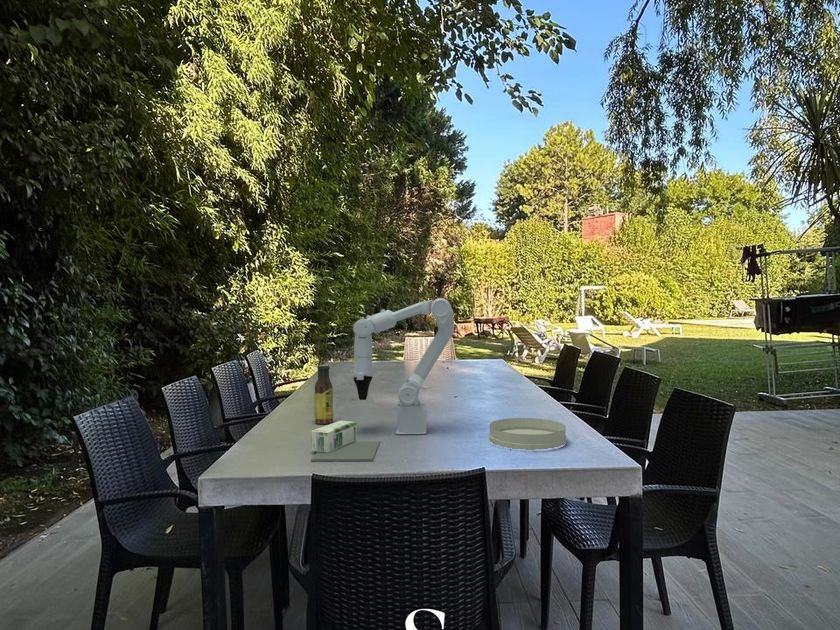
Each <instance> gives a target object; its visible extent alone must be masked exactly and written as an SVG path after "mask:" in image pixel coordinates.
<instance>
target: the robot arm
mask: <svg viewBox="0 0 840 630" xmlns="http://www.w3.org/2000/svg"><path fill="white" fill-rule="evenodd" d="M430 312H431V315H432V316H433V317H434V319H435V321H436V324H437V328H438V330H437V333H436V334H435V335H434V337H433V339H432V340H431V342H430V344H429V345H428V346H427V348H426V350H425V352H424V353H423V355H422V357H421V358H420V360H419V362H418V363H417V364H416V367H414V370H413V371H412V373H411V374H410V376H409V378H408V379H407V380H405V381H404V382H402V384H400V387H399V389H398V392H397V398H398V400H399V401H397V428H396V431H395V434H396V435H427V431H428V428H429V422H428V421H427V419H428V416H427V414H428V412H427V403H421V401H420V400H419V393H420V390H421V388H422V386H423V384H424V382H425V380H426V379H427V377H428V376H429V374H430V372H431V371H432V369H433V368H434V366H435V364H436V363H437V360H439V358H440V356H441V354H443V353H442V352H444V350H445V348H446V346H447V344H448V343H449V341H450V340H451V338H452V337H453V335H454V333H455V324H454V323H455V322H454V310H453V308H452V305H451V303H450V302H449V300H448V299H446V298H443V297H438V298H436V299H434V300H433V299H431V300H430V299H429V300H424V301H420V302H417V303H414V304H411V305H409V306H407V307H404V308H402V309H399V310H396V311H392V310H390V309H387V310H385V308H383V309H380V312H378V313H375V314H371V315H369V314H367V315H365V316H366V318H360V319H359V320H357V321H355V322H354V324H353V327H352V328H353V332H354V343H353V344H354V345H353V346H354V347H353V348H354V349H353V350H354V351H353V356H354V357H353V370H352V369H351V370H350V374H353V375H355V376H354V377H353V381H354V384H355V386H356V389H357V395H358V396H357V397H358V399H359V400H360V401H366V400H367V398H368V393H369V389H370V388H369V387H370V385H371V382H372V379H373V375H372V374H373V373H374V372H373V339H372V338H373V333H374V334H377V333H380V332H383V331H387V330H389V329H392V328H394V327H395V326H396V324H397V322H399V321H401V320H406V319H409V318H411V317H414V316H417V315H425V316H426V315H427V316H430Z"/></svg>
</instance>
